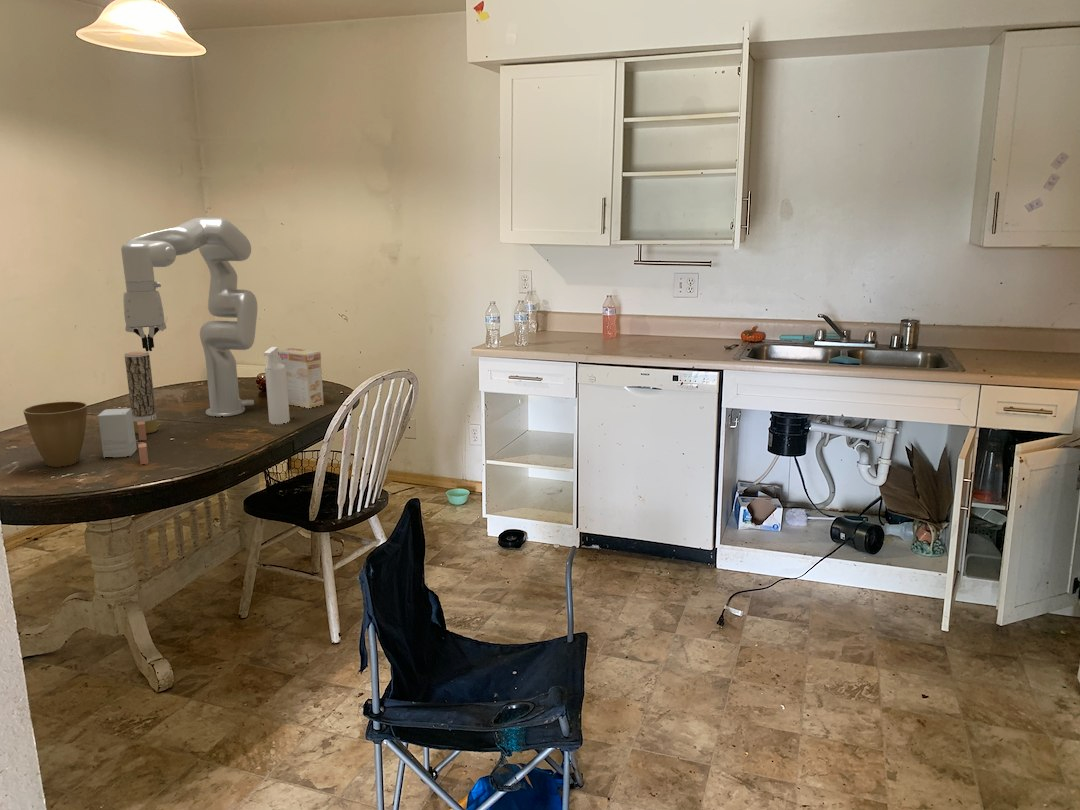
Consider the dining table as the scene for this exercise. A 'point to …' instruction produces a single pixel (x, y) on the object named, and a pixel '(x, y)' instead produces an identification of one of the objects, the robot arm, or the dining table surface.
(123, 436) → the supplement box
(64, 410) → the plant pot
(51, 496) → the dining table surface
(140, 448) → the pinkish brown rectangular block
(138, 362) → the paper tube
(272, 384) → the white pump bottle
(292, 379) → the coffeecake box
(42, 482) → the dining table surface
